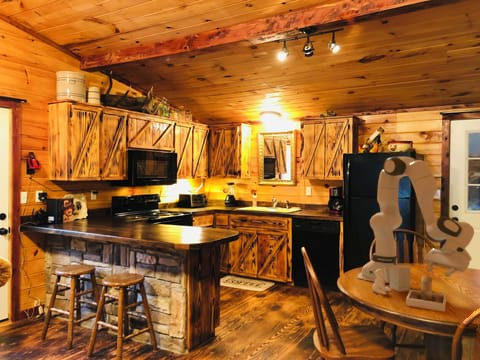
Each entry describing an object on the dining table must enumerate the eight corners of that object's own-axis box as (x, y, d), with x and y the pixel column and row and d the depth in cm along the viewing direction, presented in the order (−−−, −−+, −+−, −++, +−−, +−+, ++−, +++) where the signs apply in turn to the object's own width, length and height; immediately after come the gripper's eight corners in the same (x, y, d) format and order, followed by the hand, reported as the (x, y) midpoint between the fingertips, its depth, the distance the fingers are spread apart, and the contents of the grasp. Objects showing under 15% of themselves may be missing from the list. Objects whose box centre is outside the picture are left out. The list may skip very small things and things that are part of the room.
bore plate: (409, 304, 178) (409, 299, 177) (412, 297, 189) (412, 292, 189) (441, 310, 171) (441, 304, 171) (442, 301, 182) (443, 296, 182)
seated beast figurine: (385, 296, 192) (385, 272, 192) (368, 293, 198) (368, 269, 197) (392, 292, 199) (392, 269, 199) (375, 288, 205) (375, 266, 204)
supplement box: (410, 292, 200) (410, 267, 199) (398, 293, 197) (398, 268, 197) (400, 287, 207) (401, 264, 206) (388, 289, 205) (389, 265, 204)
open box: (406, 306, 177) (406, 298, 177) (410, 297, 191) (410, 289, 190) (444, 313, 169) (444, 304, 169) (446, 303, 183) (446, 294, 183)
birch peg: (420, 303, 179) (421, 277, 179) (421, 301, 183) (421, 275, 183) (431, 305, 177) (431, 279, 177) (431, 302, 181) (432, 277, 181)
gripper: (430, 243, 196) (416, 264, 192) (469, 250, 177) (454, 274, 173) (436, 251, 198) (422, 272, 194) (475, 259, 179) (460, 283, 175)
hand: (437, 273), depth 183 cm, fingers open, 8 cm apart
